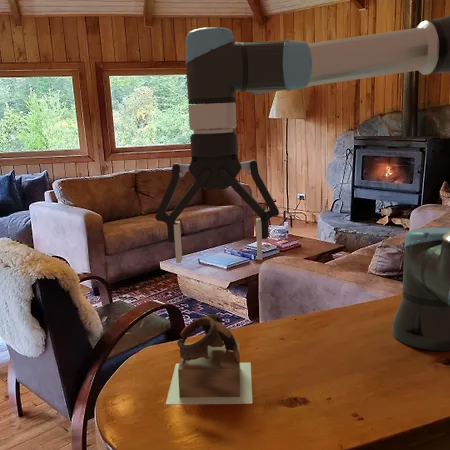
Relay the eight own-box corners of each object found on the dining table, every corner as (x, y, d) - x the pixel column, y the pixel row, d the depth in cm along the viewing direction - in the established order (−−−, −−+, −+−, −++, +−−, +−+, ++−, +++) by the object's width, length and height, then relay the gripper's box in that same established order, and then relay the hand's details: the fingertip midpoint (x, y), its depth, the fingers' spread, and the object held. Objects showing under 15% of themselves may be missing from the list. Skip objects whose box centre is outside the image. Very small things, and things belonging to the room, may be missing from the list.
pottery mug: (244, 374, 84) (218, 338, 81) (193, 394, 87) (167, 360, 83) (244, 327, 95) (222, 293, 92) (199, 346, 97) (176, 314, 94)
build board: (250, 369, 98) (250, 362, 98) (252, 411, 84) (252, 403, 84) (176, 370, 98) (176, 363, 98) (166, 412, 85) (165, 404, 84)
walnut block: (240, 367, 96) (239, 342, 95) (240, 396, 86) (239, 368, 85) (185, 368, 96) (184, 343, 95) (179, 397, 86) (178, 369, 85)
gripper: (288, 127, 87) (291, 250, 92) (139, 133, 88) (149, 255, 92) (294, 128, 80) (296, 262, 84) (131, 136, 80) (142, 268, 85)
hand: (219, 259), depth 88 cm, fingers open, 13 cm apart
